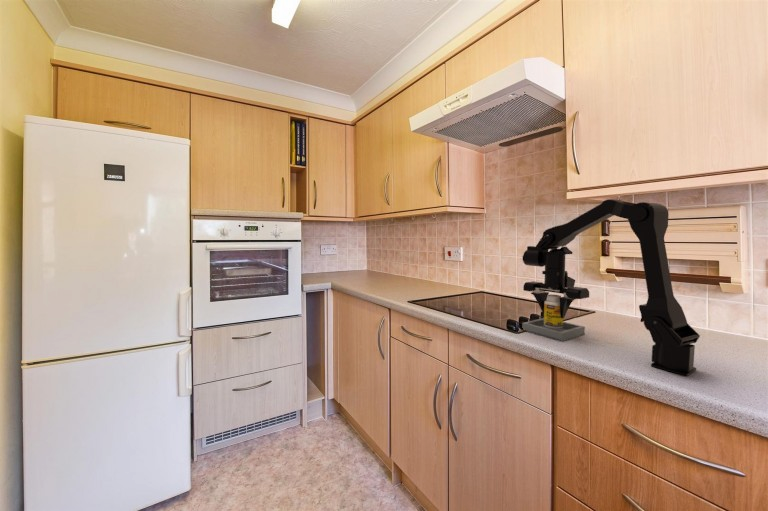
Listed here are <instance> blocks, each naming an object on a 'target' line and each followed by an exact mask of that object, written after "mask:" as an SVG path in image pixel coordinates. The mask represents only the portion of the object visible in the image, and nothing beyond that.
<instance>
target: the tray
mask: <svg viewBox="0 0 768 511" xmlns="http://www.w3.org/2000/svg"><path fill="white" fill-rule="evenodd" d="M521 326H522V327H521V328H523V329H525V330H526V331H527V332H526V331H525V332H526V333H531V334H533V333H534V335H537V336H540V335H541V337H545V338H548V339H552V340H555V341H557V342H558V341H559V342H564V341H567V340H570V339H571V340H572V339H573V338H577V337H580V336H584V335H585V333H586V332H585V331H586V330H585V329H586V326H584V325H579V324H575V323H571V322H566V321H563V327H562V328H559V329H554V328H549V327H546V326H545V325H544V317H542V318H537V319H534V320H530V321H529V320H528V321H526V322H522V325H521Z"/></svg>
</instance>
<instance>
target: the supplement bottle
mask: <svg viewBox="0 0 768 511" xmlns="http://www.w3.org/2000/svg"><path fill="white" fill-rule="evenodd" d="M560 297H562V295H558V294H548V295H547V300H546V301H545V302H544V314H543V318H544V325H545V326H546V327H549V328H554V329H559V328H562V327H563V322H564V318H561V315H560Z"/></svg>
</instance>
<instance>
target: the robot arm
mask: <svg viewBox="0 0 768 511" xmlns="http://www.w3.org/2000/svg"><path fill="white" fill-rule="evenodd" d="M669 215H670V214H669V210H668V208H667V206H665V205H663V204H661V203H654V202H645V201H644V202H637V203H634V202H629V201H623V200H621V199H617V198H616V199H614V198H607V199H605V200H603V201H602V202H601V203H600V204H598V205H596V206H594V207H593V208H591V209H589V210H587V211H585V212H584V213H583V214H581V215H579V216H577V217H575V218H573V219H572V220H570V221H568V222H566V223H563V224H559V225H555V226H552V227H550V228H547V229H545V230H544V231H543V232H542V237H541V238H540V239H539V241H538V243H537V244H536V245H535V246H534V245H528V246H527V247H526V250H525V251H524V253H523V255H522V262H523V264H524V265H525V266H530V267H544V270H542V272H541V274H542V275H544V283H543V282H542V281H541V282H540V281H526V282H525V283H523V287H522V288H523V291H525V292H530V294H531V295H532V296H533V297H534V298H535V300H536V302H537V303H538V306H539V308H540V311H541V313H542V314H543V315H544V302H545V301H546V300H547V295H550V292H551V293H555V294H563V296H561V297H560V315H561V318H563V319H564V318H565V317H566V315H567V312H568V310H569V308H570V306H571V305H572V302H574V301H575V300H581V299H586V298H587V299H588V298H590V291H589V289H588V287H580V286H575V284H576V279H574V278H573V277H570V276H568V275H569V273H568V270H566V255H572V254H573V253H574V252H573V251H571V250H570V248H568V246H567V245H568V244H570V243H571V242H573V241H574V240H575V238H576V237H577V236H578V235H579V234H581V233H583V232H584V231H587V230H588V229H591V228H593V227H594V226H597V225H599V224H600V223H602V222H604V221H606V220H608V219H610V218H612V217H614V216H615V217H619V218H621V219H625V220H627V221H628V223H629V226H630V229H631V231H632V232H633V233H634V234H635V236H636V238H637V239H638V240H639V247H640V253H641V258H642V264H643V270H644V277H645V283H646V289H647V290H646V292H647V301H646V303H643V304H639V305H638V310H639V312H640V322H641V323H643V325H644V327H645V329H646V330H647V331H648V332H649V333H650V336H651V337H650V338H651V339H652V341H653V343H654V344H653V345H652V346H651V348H652V349H651V362H652V363H650V366H651V367H653V368H656V369H661V370H662V371H663V370H664V371H667V372H672V373H674V374H678V375H681V376H686V377H688V376H689V375H690V374H692V373H693V372H695V371H697V367H695V366H694V365H695V364H694V363H695V349H696V346H695V344H696V343H697V342H698V340H699V339H700V336H701V335H700V334H699V333H698V332H697V331H696V330H695V329H694V328H693V327H692V326H691V325H690V324H689V322H688V320H687V318H686V315H685V312H684V310H683V307H682V305H681V304H680V303H679V301H678V300H677V298H676V297H675V295H674V291H673V290H674V289H673V285H672V284H673V283H672V279H671V272H670V266H669V262H668V261H669V260H668V254H667V248H666V242H665V235H666V232H667V230H668V226H669ZM560 247H561V248H560Z"/></svg>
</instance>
